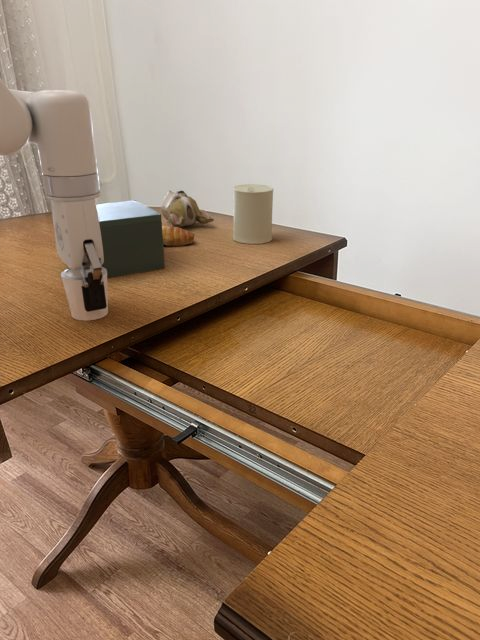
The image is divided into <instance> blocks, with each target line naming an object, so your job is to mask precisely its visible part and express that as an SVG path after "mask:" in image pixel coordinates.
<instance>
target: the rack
mask: <svg viewBox="0 0 480 640" xmlns="http://www.w3.org/2000/svg"><path fill="white" fill-rule="evenodd" d="M96 208H97V212H98V219H99V225H100V231H101V238H102V245H103V255H104V263H103V264H102V265H101V266H102V267H104V268H105V269H107V279H108V278H114V277H121V276H127V275H132V274H139V273H144V272H150V271H151V272H152V271H156V270H162V269H165V268H166V263H165V250H164V249H165V248H164V244H163V234H162V226H163V222H162V213H159V212H157V211H156V210H154V209H152V208H151V207H148V206H147V205H145V204H143V203H141V202H139V201H138V200H136V199H135V200H125V201H116V202H115V201H114V202H105V203H96ZM86 265H89V262H86Z"/></svg>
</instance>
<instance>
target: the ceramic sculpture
mask: <svg viewBox="0 0 480 640" xmlns="http://www.w3.org/2000/svg"><path fill="white" fill-rule="evenodd" d="M160 211H161V215H162V216H163V217H164V219H166V221H168V222H169V223H170V224H171V226H174V227H178V228H182V227H189V226H192V225H194V224H195V223H196V222H198V223H199V224H203V225H204V224H205V225H206V224H209V223H212V222H214V221H215V219H214V218H213V217H211V216H210V214H209V213H208V212H207V211H205V210H204V209H200V208H199V205H198V203H197V201H196V200H195V199H194V198H193V197H191V196H188V193H186V192H185V190H178V191H176V192H173V191H172V190H168V191H167V193H166V195H165V196H164V197H163V200H162V203H161V206H160Z"/></svg>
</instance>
